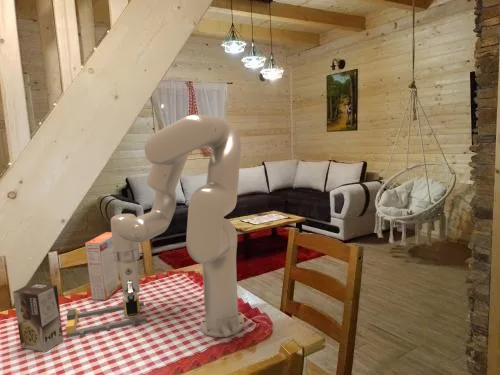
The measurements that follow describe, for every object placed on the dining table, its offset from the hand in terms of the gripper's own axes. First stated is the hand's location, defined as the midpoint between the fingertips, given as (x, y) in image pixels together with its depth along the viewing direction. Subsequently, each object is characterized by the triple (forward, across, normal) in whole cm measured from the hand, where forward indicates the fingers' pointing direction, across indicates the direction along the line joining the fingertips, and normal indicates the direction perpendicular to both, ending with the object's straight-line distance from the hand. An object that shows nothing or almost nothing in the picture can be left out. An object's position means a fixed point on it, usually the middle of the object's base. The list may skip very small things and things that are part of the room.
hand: (131, 306), depth 116 cm
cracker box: (+3, +22, +7) cm, 23 cm away
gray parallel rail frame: (+3, 0, +7) cm, 7 cm away
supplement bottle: (+3, 0, 0) cm, 3 cm away
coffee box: (+3, -7, +24) cm, 25 cm away
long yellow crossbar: (+3, 0, +17) cm, 17 cm away
